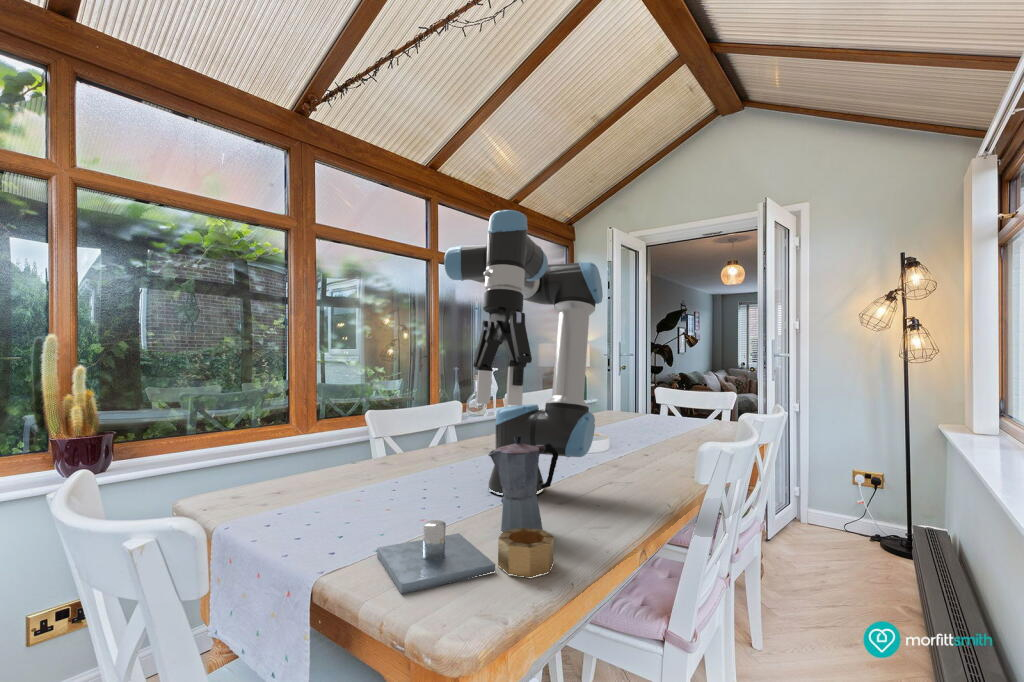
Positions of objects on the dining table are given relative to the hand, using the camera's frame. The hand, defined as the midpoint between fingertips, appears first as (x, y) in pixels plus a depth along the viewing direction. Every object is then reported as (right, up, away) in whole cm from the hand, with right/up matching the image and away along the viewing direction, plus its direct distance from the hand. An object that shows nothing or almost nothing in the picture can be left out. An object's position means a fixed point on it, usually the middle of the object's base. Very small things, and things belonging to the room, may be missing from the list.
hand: (497, 404), depth 89 cm
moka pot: (+5, -28, +12) cm, 31 cm away
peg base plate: (-11, -27, -4) cm, 30 cm away
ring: (+5, -28, -5) cm, 28 cm away
